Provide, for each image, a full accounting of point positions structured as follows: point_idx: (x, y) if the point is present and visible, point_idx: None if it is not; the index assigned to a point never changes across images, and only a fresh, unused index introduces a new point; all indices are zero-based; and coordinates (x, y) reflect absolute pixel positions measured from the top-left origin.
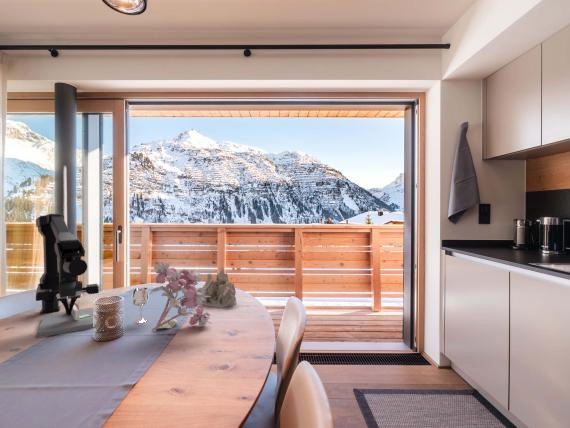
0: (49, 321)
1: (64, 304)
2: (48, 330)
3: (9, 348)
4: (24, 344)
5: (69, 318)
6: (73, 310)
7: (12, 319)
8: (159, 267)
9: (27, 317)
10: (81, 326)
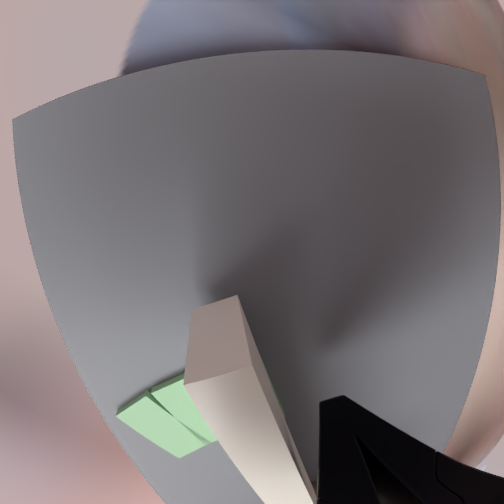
0: (447, 362)
1: (471, 482)
2: (437, 85)
3: (496, 11)
4: (468, 10)
5: (315, 409)
6: (298, 466)
7: (493, 437)
8: None
9: (462, 458)
10: (126, 80)
